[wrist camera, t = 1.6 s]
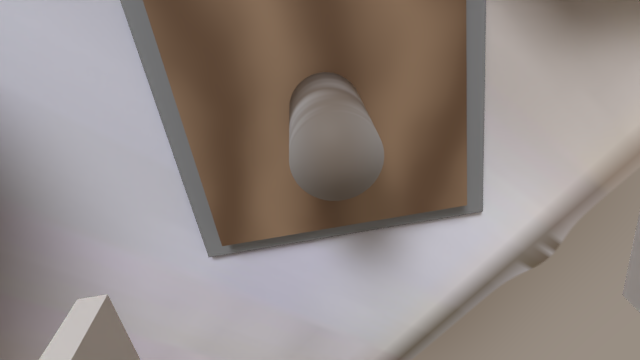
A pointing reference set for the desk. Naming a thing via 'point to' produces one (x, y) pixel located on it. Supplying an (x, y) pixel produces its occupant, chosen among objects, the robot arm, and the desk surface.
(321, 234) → the mat
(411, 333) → the desk surface
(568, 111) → the desk surface
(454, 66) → the lid
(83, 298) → the robot arm
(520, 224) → the desk surface
